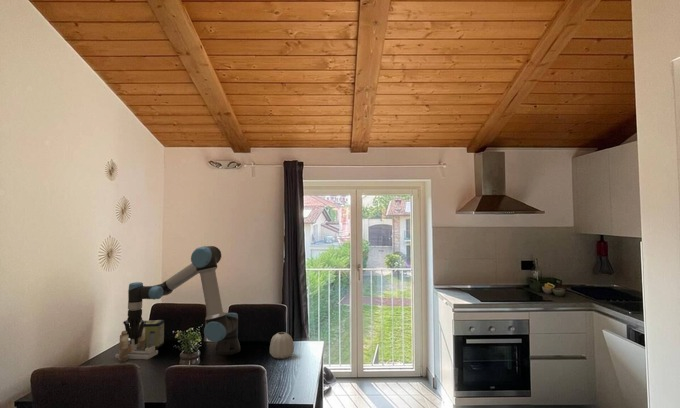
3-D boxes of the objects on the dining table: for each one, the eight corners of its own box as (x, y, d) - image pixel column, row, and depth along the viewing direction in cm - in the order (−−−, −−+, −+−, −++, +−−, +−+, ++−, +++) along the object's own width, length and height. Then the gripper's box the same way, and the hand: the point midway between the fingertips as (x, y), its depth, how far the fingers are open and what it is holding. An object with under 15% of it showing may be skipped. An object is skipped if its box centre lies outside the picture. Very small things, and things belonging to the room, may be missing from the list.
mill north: (129, 359, 220) (130, 329, 222) (124, 361, 216) (125, 331, 217) (122, 358, 221) (123, 329, 222) (117, 361, 216) (118, 331, 218)
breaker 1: (132, 350, 229) (132, 343, 229) (126, 353, 224) (127, 346, 224) (127, 350, 229) (127, 343, 230) (121, 352, 224) (122, 346, 225)
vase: (281, 351, 233) (281, 329, 234) (298, 355, 225) (298, 332, 226) (264, 357, 222) (264, 334, 223) (281, 362, 214) (282, 337, 215)
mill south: (146, 350, 236) (146, 323, 238) (141, 352, 232) (142, 324, 233) (139, 350, 237) (140, 323, 238) (134, 352, 232) (135, 324, 234)
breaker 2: (154, 351, 228) (155, 344, 228) (150, 353, 223) (150, 346, 223) (150, 350, 228) (150, 344, 228) (145, 353, 223) (145, 346, 223)
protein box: (138, 345, 249) (139, 320, 250) (164, 344, 250) (164, 319, 251) (132, 349, 238) (132, 324, 239) (158, 348, 240) (159, 323, 241)
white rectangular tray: (158, 353, 230) (158, 349, 230) (148, 359, 220) (148, 354, 220) (126, 352, 232) (126, 348, 232) (115, 358, 222) (115, 353, 222)
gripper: (149, 307, 231) (148, 348, 230) (128, 307, 233) (127, 347, 231) (141, 310, 224) (140, 352, 222) (120, 310, 225) (119, 351, 223)
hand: (133, 350), depth 226 cm, fingers closed
